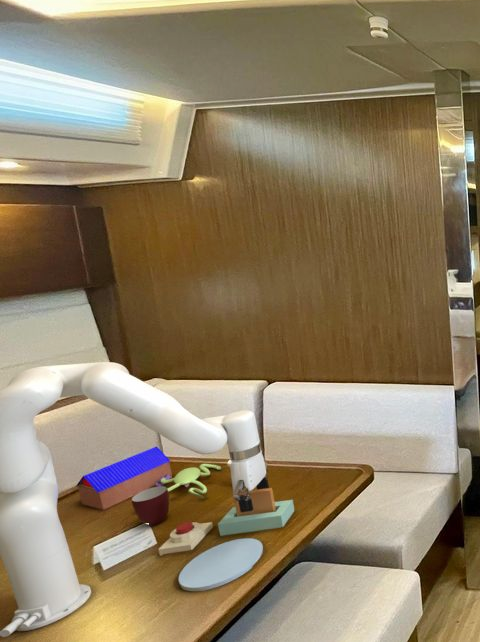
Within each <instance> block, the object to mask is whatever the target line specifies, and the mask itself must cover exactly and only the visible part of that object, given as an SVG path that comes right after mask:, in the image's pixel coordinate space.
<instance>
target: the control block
mask: <svg viewBox="0 0 480 642" xmlns="http://www.w3.org/2000/svg"><path fill="white" fill-rule="evenodd" d="M192 524H193V529H192V530H191V531H189V532H188V533H185V534H181V535H177V532H176V528H175V529H173V530H172V531H171V532H170V534H169V538H168V539H167V540H166V541H165V542H164V543H163V544H162V545H161V546H160V547H159V548H158V555H159V556H160V557H162V556H163V555H167V554H173V553H180V552H187V551H192V550H194V548H195V547H196V546H197V545H198V544H199V543H200V542H201V541H202V540H203V539H204V537H205V536H206V535H208V533H209V532H210V531H211V530H212V529H213V527H214V526H213V525H214V524H213V521H211V522H203V523H199V522H196V521H195V522H192Z"/></svg>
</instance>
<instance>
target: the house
mask: <svg viewBox="0 0 480 642" xmlns="http://www.w3.org/2000/svg"><path fill="white" fill-rule="evenodd" d="M170 462H171V460H170V459H169V457H168V456H167V455H166V454H165V453H164V452H163V451H162V450H161V449H160V448H159V447H158V446H154V447H152V448H149V449H147V450H144V451H141V452H139V453H137V454H134V455H131V456H129V457H127V458H124V459H122V460H119V461H117V462H114V463H112V464H109V465H107V466H104V467H102V468H99V469H96V470H95V471H92V472H89V473H87V474H84V475H83V476H82V477H81V478H80V479H79V481H78V483H76V485H75V487H77V490H78V493H79V497H80V501H81V505H85V506H88V507H92V508H96V509H98V510H99V509H100V510H106V509H109V508H110V507H113V506H115V505H117V504H120V503H121V502H123V501H126V500H128V499H130V498H133V497H134V496H135V495H136V494H138V493H140V492H142V491H144V490H147V489H150V488H154V487H156V485H155V483H156V482H157V481H158V480H159V479H161V478H162V477H163V476H164V475H166V474H168V475H169V476H170V477H172V478H173V473H172V469H171V465H170Z"/></svg>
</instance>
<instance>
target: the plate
mask: <svg viewBox="0 0 480 642" xmlns="http://www.w3.org/2000/svg"><path fill="white" fill-rule="evenodd" d="M263 553H264V546H263V543H262V542H261V541H260V540H259V539H256V538H249V537H247V538H246V537H245V538H244V537H243V538H236V539H232V540H230V541H229V540H228V541H225V542H223V543H221V544H217V545H215V546H213V547H211V548H208V549H207V550H205V551H203V552H201V553H199V554H198V555H197V556H195V557H194V558H193V559H192V560H190V561H188V563H187V564H186V565H185V566H184V567H183V568H182V569H181V571H180V572H179V575H178V585H179V587H180V588H181V589H182V590H184V591H187V592H203V591H208V590H212V589H216V588H218V587H221V586H224V585H227V584H228V583H230V582H232V581H233V582H234V581H235V580H237V579H238V578H240V577H242V576H243V575H244V574H246V573H248V572H249V571H250V570H252V569H253V568H254V565H255V564H256V563H257V562H258V561H259V559H261V556H262V555H263Z"/></svg>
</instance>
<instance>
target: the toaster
mask: <svg viewBox="0 0 480 642" xmlns="http://www.w3.org/2000/svg"><path fill="white" fill-rule="evenodd" d="M275 507H276V512H269V513H262V514H254V515H247V516H239V517H237V512H236V507H235V506H233V507H231V508H230V510H229V511H228V512H227V513H226V514H225V515H224V516H223V517H222V519H220V521H219V522H218V523H217V528H218V533H219V536H220V537H221V536H229V535H235V534H242V533H250V532H251V533H252V532H256V531H265V530H271V529H279V528H284V527H285V525H286V524H287V522H288V521H289V519H290V518H291V516H292V515H293V514H294V512H295V506H294V500H293V499H288V500H287V499H286V500H280V501H275Z"/></svg>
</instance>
